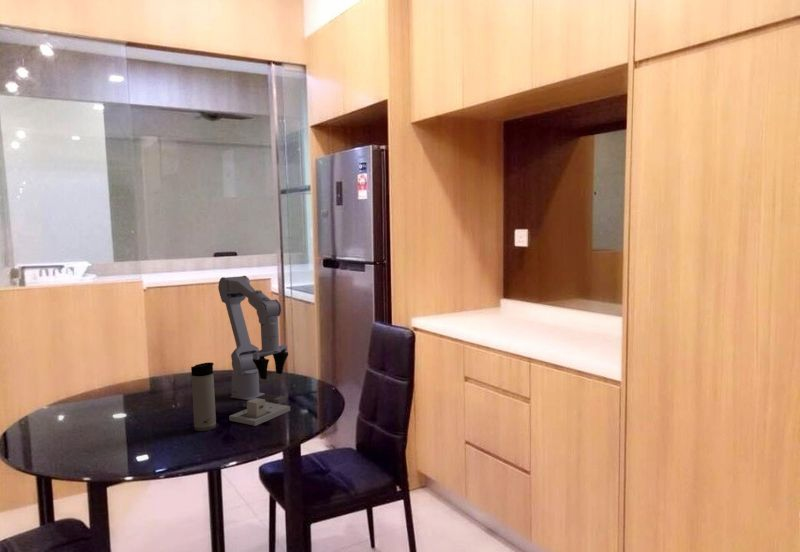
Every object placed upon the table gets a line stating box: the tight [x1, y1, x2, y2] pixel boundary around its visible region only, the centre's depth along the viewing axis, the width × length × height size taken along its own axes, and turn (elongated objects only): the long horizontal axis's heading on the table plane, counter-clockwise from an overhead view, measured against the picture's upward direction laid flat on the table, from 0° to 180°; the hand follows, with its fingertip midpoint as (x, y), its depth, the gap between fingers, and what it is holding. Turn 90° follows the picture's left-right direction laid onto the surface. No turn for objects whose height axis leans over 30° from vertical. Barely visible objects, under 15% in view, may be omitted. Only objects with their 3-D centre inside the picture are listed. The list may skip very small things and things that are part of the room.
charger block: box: [246, 397, 266, 417], centre depth 176 cm, size 4×4×6 cm
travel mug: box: [190, 362, 217, 432], centre depth 168 cm, size 6×7×20 cm
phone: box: [242, 394, 279, 409], centre depth 192 cm, size 6×12×1 cm, turn 150°
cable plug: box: [272, 395, 287, 405], centre depth 190 cm, size 10×2×2 cm, turn 150°
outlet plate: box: [228, 402, 291, 427], centre depth 179 cm, size 11×16×2 cm
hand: (271, 376), depth 188 cm, fingers open, 7 cm apart
